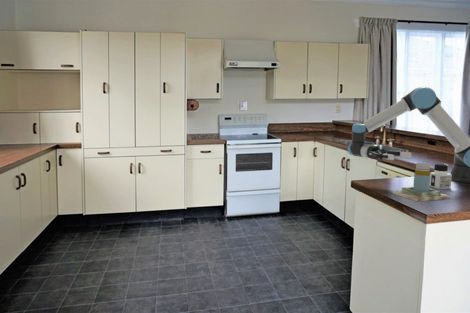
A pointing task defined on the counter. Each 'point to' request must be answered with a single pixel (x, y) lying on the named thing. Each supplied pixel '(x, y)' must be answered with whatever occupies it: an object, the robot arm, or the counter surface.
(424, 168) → the bottle
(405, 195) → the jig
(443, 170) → the container
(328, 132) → the counter surface
